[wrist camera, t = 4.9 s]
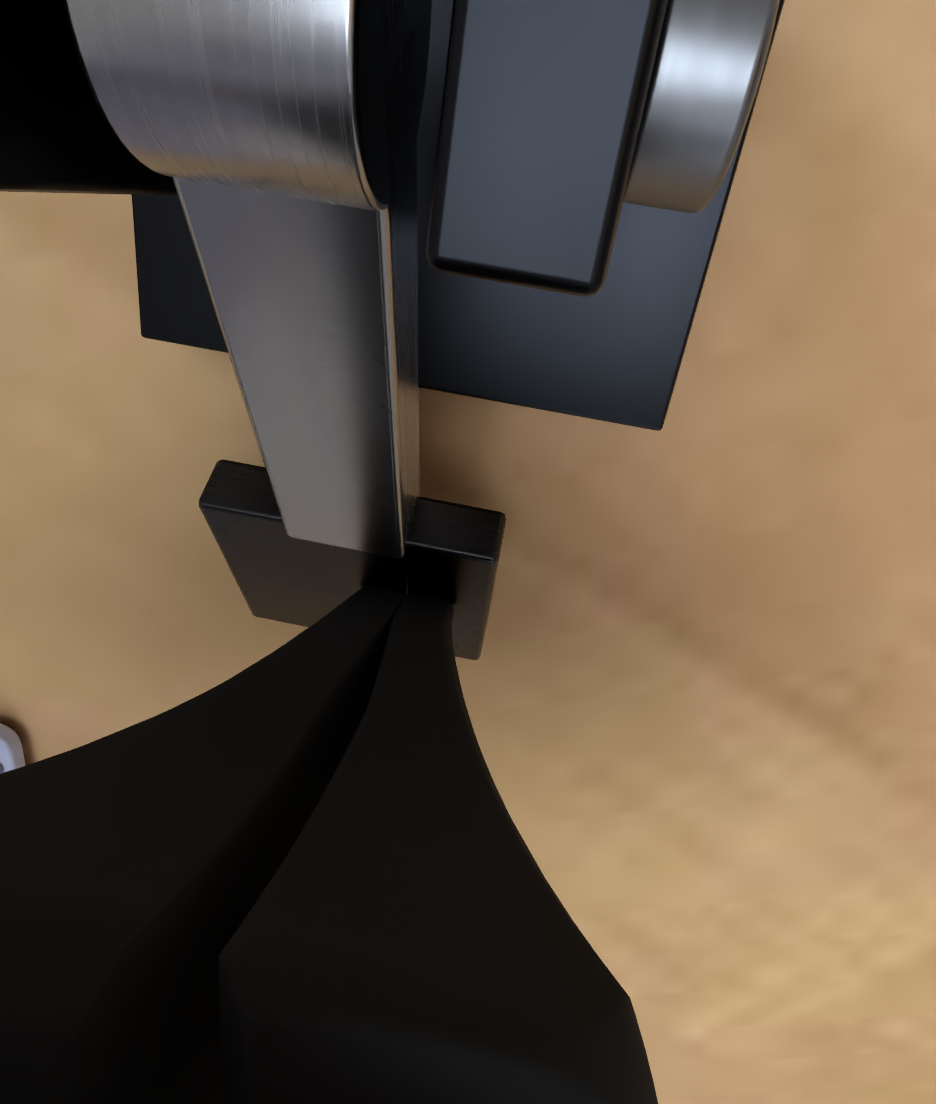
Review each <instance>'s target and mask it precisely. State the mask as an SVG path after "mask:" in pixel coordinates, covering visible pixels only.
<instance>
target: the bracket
mask: <svg viewBox="0 0 936 1104" xmlns="http://www.w3.org/2000/svg"><path fill="white" fill-rule="evenodd" d="M784 1H785V0H432V12H431V29H430V43H429V56H428V66H427V75H426V84H425V91H424V99H423V105H422V112H421V118H420V124H419V129H418V134H417V249H418V365H419V387H420V388H425V389H431V390H436V391H442V392H447V393H453V394H458V395H464V396H469V397H475V398H480V399H486V400H492V401H497V402H503V403H508V404H514V405H519V406H525V407H530V408H536V409H541V410H547V411H552V412H558V413H563V414H569V415H574V416H580V417H585V418H591V419H596V420H602V421H608V422H613V423H619V424H624V425H630V426H635V427H641V428H646V429H652V430H657V431H658V430H661V429H662V428H663V424H664V421H665V417H666V414H667V410H668V407H669V403H670V400H671V396H672V393H673V389H674V386H675V382H676V379H677V375H678V372H679V368H680V365H681V361H682V358H683V354H684V351H685V347H686V344H687V340H688V337H689V333H690V330H691V326H692V323H693V319H694V316H695V312H696V309H697V305H698V302H699V298H700V295H701V291H702V288H703V284H704V281H705V277H706V274H707V270H708V267H709V263H710V260H711V256H712V253H713V249H714V246H715V242H716V239H717V235H718V232H719V228H720V225H721V221H722V218H723V214H724V211H725V207H726V204H727V200H728V197H729V193H730V190H731V186H732V183H733V179H734V176H735V172H736V169H737V165H738V162H739V158H740V155H741V151H742V148H743V144H744V141H745V137H746V134H747V130H748V127H749V123H750V120H751V116H752V113H753V109H754V106H755V102H756V99H757V95H758V92H759V88H760V85H761V81H762V78H763V74H764V71H765V67H766V64H767V60H768V57H769V53H770V50H771V46H772V43H773V39H774V36H775V32H776V29H777V25H778V22H779V18H780V15H781V11H782V8H783V4H784ZM0 191H8V192H51V193H94V194H132V204H133V219H134V234H135V248H136V263H137V278H138V293H139V308H140V323H141V335H142V336H143V337H145V338H149V339H155V340H160V341H166V342H171V343H177V344H182V345H188V346H193V347H199V348H204V349H210V350H215V351H221V352H226V353H228V349H227V346H226V343H225V340H224V337H223V334H222V331H221V328H220V325H219V321H218V318H217V315H216V312H215V309H214V306H213V303H212V300H211V297H210V293H209V290H208V287H207V284H206V281H205V278H204V275H203V272H202V269H201V265H200V262H199V259H198V256H197V253H196V250H195V247H194V244H193V240H192V237H191V234H190V231H189V228H188V225H187V222H186V219H185V216H184V212H183V209H182V206H181V203H180V200H179V197H178V194H177V191H176V188H175V184H174V181H173V178H172V177H171V176H165V175H162V174H160V173H157V172H155V171H153V170H151V169H150V168H148V167H147V166H145V165H144V164H143V163H141V162H140V161H138V160H137V159H136V158H135V157H134V156H133V155H132V154H131V153H130V152H129V151H128V150H127V149H126V148H125V147H124V145H123V144H122V143H121V141H120V140H119V139H118V138H117V136H116V135H115V133H114V132H113V130H112V129H111V127H110V125H109V124H108V122H107V121H106V119H105V117H104V115H103V113H102V111H101V109H100V107H99V106H98V104H97V102H96V100H95V98H94V95H93V93H92V90H91V88H90V86H89V83H88V81H87V79H86V76H85V74H84V71H83V68H82V65H81V62H80V59H79V56H78V53H77V50H76V47H75V43H74V40H73V36H72V32H71V29H70V25H69V22H68V17H67V12H66V8H65V3H64V0H0Z"/></svg>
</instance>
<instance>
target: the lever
mask: <svg viewBox="0 0 936 1104" xmlns="http://www.w3.org/2000/svg"><path fill="white" fill-rule="evenodd" d="M64 3H65V8H66V12H67V17H68V22H69V25H70V29H71V32H72V36H73V40H74V43H75V47H76V50H77V53H78V56H79V59H80V62H81V65H82V68H83V71H84V74H85V76H86V79H87V81H88V83H89V86H90V88H91V90H92V93H93V95H94V98H95V100H96V102H97V104H98V106H99V107H100V109H101V111H102V113H103V115H104V117H105V119H106V121H107V122H108V124H109V125H110V127H111V129H112V130H113V132H114V133H115V135H116V136H117V138H118V139H119V140H120V141H121V143H122V144H123V145H124V147H125V148H126V149H127V150H128V151H129V152H130V153H131V154H132V155H133V156H134V157H135V158H136V159H137V160H138V161H140V162H141V163H143V164H144V165H145V166H147V167H148V168H150V169H151V170H153V171H155V172H157V173H160V174H162V175H165V176H171V177H172V178H173V181H174V184H175V188H176V191H177V194H178V197H179V200H180V203H181V206H182V209H183V212H184V216H185V219H186V222H187V225H188V228H189V231H190V234H191V237H192V240H193V244H194V247H195V250H196V253H197V256H198V259H199V262H200V265H201V269H202V272H203V275H204V278H205V281H206V284H207V287H208V290H209V293H210V297H211V300H212V303H213V306H214V309H215V312H216V315H217V318H218V321H219V325H220V328H221V331H222V334H223V337H224V340H225V343H226V346H227V349H228V353H229V356H230V359H231V362H232V365H233V368H234V371H235V374H236V377H237V381H238V384H239V387H240V390H241V393H242V396H243V399H244V402H245V405H246V409H247V412H248V415H249V418H250V421H251V424H252V427H253V430H254V434H255V437H256V440H257V443H258V446H259V449H260V452H261V455H262V458H263V462H264V465H265V467H260V466H255V465H250V464H244V463H239V462H234V461H228V460H219V461H218V462H217V463H216V465H215V467H214V470H213V472H212V474H211V476H210V478H209V480H208V482H207V484H206V486H205V489H204V491H203V493H202V495H201V497H200V499H199V507H200V509H201V511H202V513H203V515H204V517H205V519H206V521H207V523H208V525H209V527H210V529H211V531H212V533H213V535H214V537H215V539H216V541H217V543H218V545H219V547H220V549H221V551H222V553H223V555H224V557H225V559H226V562H227V564H228V566H229V568H230V570H231V572H232V574H233V576H234V578H235V580H236V582H237V584H238V586H239V588H240V590H241V592H242V594H243V596H244V598H245V600H246V602H247V604H248V606H249V608H250V610H251V612H252V614H253V615H254V616H256V617H261V618H266V619H271V620H276V621H281V622H286V623H291V624H296V625H301V626H306V627H310V626H312V625H313V624H314V623H316V622H317V621H318V620H320V619H321V618H322V617H324V616H325V615H326V614H328V613H329V612H330V611H332V610H333V609H334V608H336V607H337V606H338V605H340V604H341V603H342V602H344V601H345V600H346V599H347V598H349V597H350V596H351V595H353V594H354V593H355V592H357V591H358V590H360V589H361V588H363V587H364V586H366V585H367V586H372V587H377V588H382V589H387V590H393V591H398V592H403V593H406V595H407V594H413V595H418V596H424V597H429V598H434V599H440V600H445V601H448V602H449V603H450V604H451V605H452V606H453V607H454V614H453V620H452V639H453V648H454V655H455V656H457V657H462V658H467V659H472V660H478V659H479V657H480V656H481V651H482V645H483V640H484V635H485V630H486V625H487V619H488V614H489V609H490V603H491V598H492V593H493V587H494V582H495V577H496V571H497V566H498V561H499V555H500V550H501V545H502V539H503V534H504V529H505V523H506V518H505V514H504V513H502V512H499V511H493V510H488V509H483V508H478V507H472V506H467V505H462V504H456V503H451V502H446V501H440V500H435V499H430V498H425V497H420V481H419V365H418V249H417V134H418V129H419V124H420V118H421V112H422V105H423V99H424V91H425V84H426V75H427V66H428V56H429V43H430V29H431V12H432V0H64Z"/></svg>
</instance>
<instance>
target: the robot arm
mask: <svg viewBox="0 0 936 1104" xmlns="http://www.w3.org/2000/svg"><path fill="white" fill-rule="evenodd" d="M453 614H454V607H453V606H452V605H451V604H450V603H449V602H448V601H445V600H440V599H434V598H429V597H424V596H418V595H413V594H407V595H406V593H403V592H398V591H393V590H387V589H382V588H377V587H372V586H367V585H366V586H364V587H363V588H361V589H360V590H358V591H357V592H355V593H354V594H353V595H351V596H350V597H349V598H347V599H346V600H345V601H344V602H342V603H341V604H340V605H338V606H337V607H336V608H334V609H333V610H332V611H330V612H329V613H328V614H326V615H325V616H324V617H322V618H321V619H320V620H318V621H317V622H316V623H314V624H313V625H312V626H310V627H309V628H307V629H306V630H304V631H303V632H302V633H300V634H299V635H297V636H296V637H294V638H293V639H292V640H290V641H289V642H287V643H286V644H284V645H283V646H281V647H280V648H278V649H277V650H275V651H274V652H272V653H271V654H269V655H268V656H266V657H264V658H263V659H261V660H260V661H258V662H256V663H255V664H253V665H251V666H250V667H248V668H247V669H245V670H243V671H242V672H240V673H239V674H237V675H235V676H234V677H232V678H230V679H229V680H227V681H225V682H223V683H222V684H220V685H218V686H216V687H214V688H212V689H210V690H208V691H207V692H205V693H203V694H201V695H199V696H197V697H195V698H192V699H190V700H188V701H186V702H184V703H182V704H180V705H178V706H176V707H174V708H172V709H170V710H168V711H166V712H164V713H161V714H159V715H157V716H155V717H152V718H150V719H147V720H145V721H143V722H140V723H138V724H135V725H133V726H130V727H128V728H125V729H123V730H120V731H118V732H116V733H113V734H111V735H108V736H106V737H103V738H101V739H98V740H96V741H94V742H91V743H89V744H86V745H84V746H81V747H78V748H76V749H73V750H70V751H67V752H64V753H61V754H58V755H56V756H53V757H50V758H47V759H44V760H41V761H38V762H35V763H32V764H29V765H26V764H25V759H24V754H23V749H22V744H21V741H20V739H19V736H18V735H17V734H16V733H15V732H14V730H12V729H11V728H9V727H8V726H6V725H3V724H0V1104H658V1101H657V1097H656V1092H655V1087H654V1082H653V1078H652V1074H651V1070H650V1066H649V1062H648V1058H647V1054H646V1050H645V1047H644V1043H643V1040H642V1036H641V1033H640V1030H639V1026H638V1023H637V1019H636V1016H635V1012H634V1009H633V1006H632V1003H631V1000H630V997H629V996H628V994H627V993H626V992H625V991H624V989H623V988H622V987H621V985H620V984H619V983H618V982H617V980H616V979H615V978H614V976H613V975H612V974H611V972H610V971H609V970H608V968H607V967H606V966H605V964H604V963H603V962H602V960H601V959H600V958H599V956H598V955H597V954H596V952H595V951H594V950H593V948H592V947H591V945H590V944H589V943H588V941H587V940H586V938H585V937H584V936H583V934H582V933H581V931H580V930H579V929H578V927H577V926H576V924H575V923H574V922H573V920H572V919H571V917H570V916H569V914H568V912H567V911H566V909H565V908H564V906H563V905H562V903H561V902H560V900H559V899H558V897H557V896H556V894H555V893H554V891H553V889H552V888H551V886H550V885H549V883H548V882H547V880H546V879H545V877H544V875H543V874H542V872H541V870H540V868H539V867H538V865H537V863H536V861H535V860H534V858H533V856H532V854H531V853H530V851H529V849H528V847H527V845H526V844H525V842H524V840H523V838H522V837H521V835H520V833H519V831H518V830H517V828H516V826H515V824H514V823H513V821H512V819H511V817H510V815H509V813H508V811H507V809H506V807H505V805H504V803H503V801H502V798H501V796H500V794H499V792H498V790H497V788H496V786H495V784H494V781H493V779H492V777H491V774H490V772H489V770H488V767H487V765H486V763H485V760H484V758H483V755H482V752H481V750H480V747H479V745H478V742H477V739H476V736H475V733H474V730H473V727H472V724H471V721H470V718H469V714H468V711H467V708H466V704H465V701H464V697H463V693H462V689H461V685H460V680H459V676H458V671H457V666H456V661H455V655H454V648H453V639H452V620H453Z"/></svg>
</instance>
